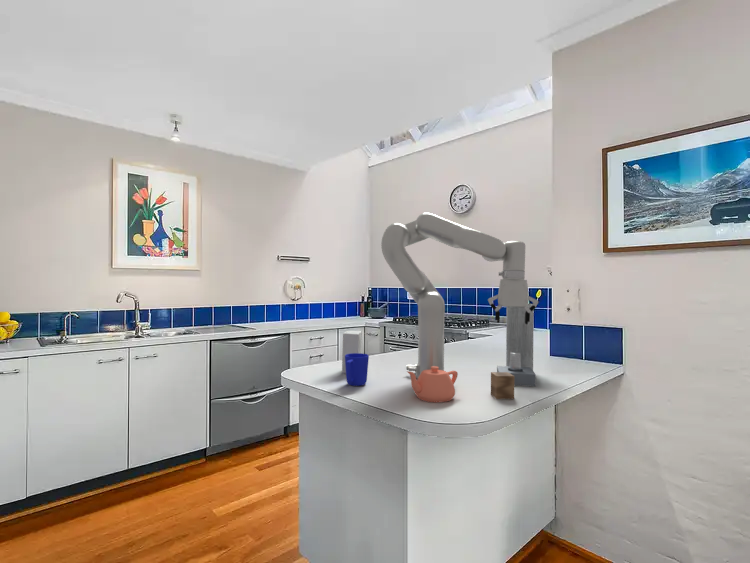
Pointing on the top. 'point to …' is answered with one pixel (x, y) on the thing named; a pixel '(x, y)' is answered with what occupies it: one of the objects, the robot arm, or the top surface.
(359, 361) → the mug
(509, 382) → the square peg
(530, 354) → the vase
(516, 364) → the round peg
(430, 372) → the teapot
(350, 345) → the skincare box
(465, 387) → the top surface
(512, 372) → the socket block
